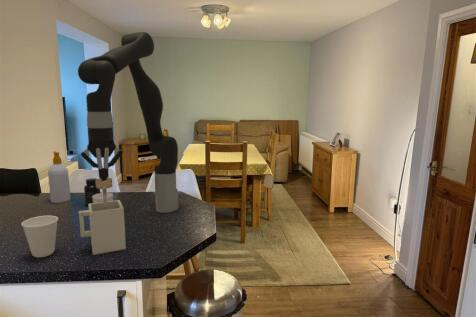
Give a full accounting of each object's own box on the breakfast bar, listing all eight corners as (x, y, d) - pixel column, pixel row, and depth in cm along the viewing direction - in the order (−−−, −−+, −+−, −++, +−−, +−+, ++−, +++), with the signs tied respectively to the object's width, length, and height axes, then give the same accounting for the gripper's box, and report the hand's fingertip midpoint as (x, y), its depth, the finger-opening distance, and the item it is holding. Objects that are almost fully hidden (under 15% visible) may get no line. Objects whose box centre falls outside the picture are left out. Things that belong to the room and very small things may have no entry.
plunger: (118, 228, 114) (114, 176, 111) (120, 236, 107) (117, 181, 104) (94, 231, 110) (90, 178, 107) (95, 240, 104) (91, 183, 100)
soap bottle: (67, 196, 165) (63, 150, 161) (73, 200, 158) (68, 152, 154) (48, 199, 159) (43, 151, 155) (53, 204, 152) (48, 154, 148)
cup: (35, 247, 108) (32, 215, 106) (66, 246, 109) (63, 214, 107) (18, 261, 98) (14, 227, 97) (52, 260, 99) (49, 226, 97)
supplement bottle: (104, 203, 155) (102, 178, 152) (91, 207, 149) (89, 181, 147) (95, 201, 158) (93, 177, 156) (82, 204, 152) (80, 179, 150)
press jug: (121, 237, 116) (119, 199, 114) (125, 248, 107) (123, 208, 105) (81, 244, 110) (78, 204, 108) (82, 257, 102) (78, 214, 99)
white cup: (107, 222, 130) (105, 198, 128) (89, 221, 132) (87, 197, 130) (118, 216, 138) (116, 193, 136) (101, 214, 139) (99, 192, 137)
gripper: (121, 124, 109) (123, 175, 112) (77, 125, 103) (81, 179, 106) (124, 126, 102) (126, 180, 105) (77, 127, 96) (81, 184, 99)
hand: (103, 179), depth 106 cm, fingers closed
